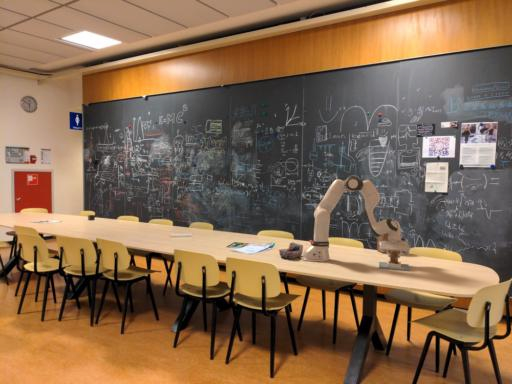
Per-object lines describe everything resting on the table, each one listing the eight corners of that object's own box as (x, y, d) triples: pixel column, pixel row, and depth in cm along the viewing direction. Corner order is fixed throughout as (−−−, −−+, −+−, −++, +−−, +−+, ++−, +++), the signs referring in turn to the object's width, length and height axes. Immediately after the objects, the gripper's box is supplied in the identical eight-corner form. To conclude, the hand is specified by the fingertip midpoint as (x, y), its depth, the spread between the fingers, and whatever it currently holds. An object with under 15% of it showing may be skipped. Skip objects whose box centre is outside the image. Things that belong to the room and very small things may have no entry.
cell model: (305, 242, 297) (291, 247, 281) (304, 256, 298) (291, 261, 282) (290, 240, 305) (277, 244, 289) (290, 253, 306) (276, 258, 290)
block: (382, 253, 315) (383, 229, 314) (376, 251, 325) (377, 227, 324) (393, 253, 317) (394, 229, 316) (387, 250, 327) (388, 227, 326)
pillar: (390, 263, 267) (390, 251, 266) (390, 262, 272) (390, 249, 271) (397, 264, 265) (398, 251, 265) (397, 263, 270) (398, 250, 270)
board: (378, 268, 264) (379, 263, 264) (379, 263, 279) (379, 259, 279) (409, 271, 258) (410, 266, 258) (408, 266, 273) (408, 261, 273)
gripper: (379, 237, 277) (378, 253, 269) (409, 239, 271) (409, 255, 262) (379, 242, 282) (378, 258, 273) (408, 244, 275) (409, 260, 267)
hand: (394, 256), depth 268 cm, fingers closed on pillar, 5 cm apart
